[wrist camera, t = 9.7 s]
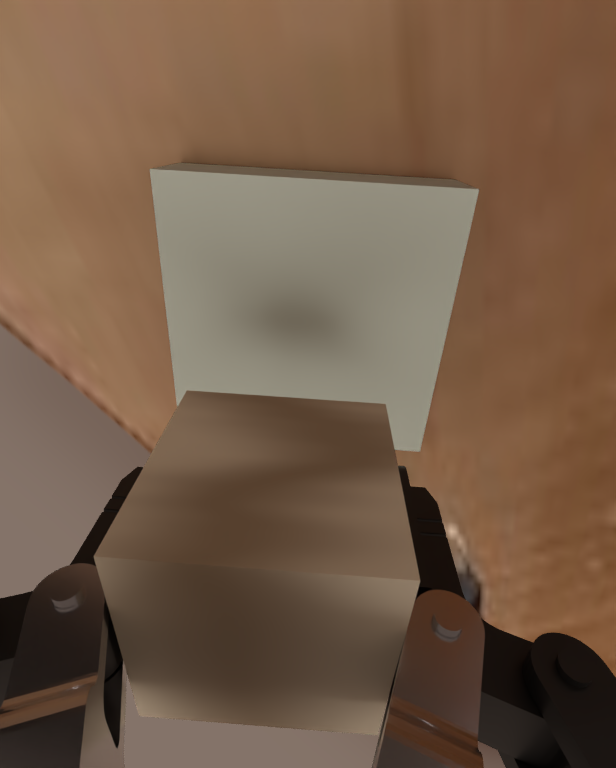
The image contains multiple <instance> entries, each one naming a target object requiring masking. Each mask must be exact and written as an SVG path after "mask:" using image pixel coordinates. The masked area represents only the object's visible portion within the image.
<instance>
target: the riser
mask: <svg viewBox="0 0 616 768" xmlns="http://www.w3.org/2000/svg"><path fill="white" fill-rule="evenodd" d="M150 176H151V185H152V193H153V202H154V211H155V219H156V228H157V237H158V245H159V254H160V263H161V271H162V280H163V289H164V297H165V306H166V315H167V323H168V332H169V341H170V349H171V358H172V367H173V375H174V384H175V393H176V401H177V407H178V405H179V403H180V402H181V400H182V398H183V396H184V394H185V393H186V391H187V390H189V391H204V392H219V393H233V394H248V395H263V396H277V397H292V398H307V399H321V400H336V401H351V402H365V403H380V404H386V408H387V413H388V418H389V423H390V428H391V434H392V439H393V444H394V449H395V450H404V451H418V452H420V449H421V444H422V440H423V436H424V431H425V427H426V422H427V418H428V413H429V409H430V405H431V400H432V396H433V391H434V387H435V383H436V378H437V374H438V369H439V365H440V360H441V356H442V352H443V347H444V343H445V338H446V334H447V330H448V325H449V321H450V316H451V312H452V307H453V303H454V299H455V294H456V290H457V285H458V281H459V276H460V272H461V268H462V263H463V259H464V254H465V250H466V246H467V241H468V237H469V232H470V228H471V223H472V219H473V215H474V210H475V206H476V201H477V197H478V193H479V189H477V188H475V187H472V186H470V185H467V184H465V183H462V182H460V181H457V180H454V179H437V178H421V177H405V176H389V175H372V174H356V173H340V172H324V171H307V170H291V169H275V168H259V167H242V166H226V165H210V164H193V163H176V164H171V165H167V166H162V167H157V168H152V169H150Z"/></svg>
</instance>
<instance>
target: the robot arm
mask: <svg viewBox="0 0 616 768" xmlns="http://www.w3.org/2000/svg"><path fill="white" fill-rule="evenodd" d="M142 469H143V467H137V468H136V469H134V470H133V471H132V472H131V473H130V474H128V475H127V476H126V477H125V478H123V479H122V480H121V482H120V483H119V485H118V487H117V489H116V490H115V492H114V493H113V495H112V499H110V500H109V502H108V504H107V505H106V507H105V508H104V512H102V513H101V515H100V516H99V518H98V520H97V522H96V523H95V525H94V527H93V528H92V530H91V532H90V533H89V535H88V536H87V538H86V540H85V541H84V543H83V545H82V546H81V548H80V550H79V552H78V553H77V555H76V556H75V558H74V560H73V561H72V563H71V564H70V565H69V566H65V567H62V568H60V569H58V570H56V571H54V572H53V573H51V574H50V575H48V576H47V577H46V578H44V579H43V580H42V581H41V582H40V583H39V584H38V585H37V586H36V588H35V589H34V590H33V591H31V592H27V593H24V594H19V595H15V596H10V597H5V598H0V768H125V765H124V735H125V707H126V681H127V671H126V668H125V665H124V661H123V658H122V654H121V651H120V647H119V644H118V640H117V637H116V633H115V630H114V626H113V623H112V619H111V616H110V612H109V609H108V605H107V602H106V598H105V595H104V591H103V588H102V584H101V581H100V577H99V574H98V570H97V567H96V563H95V560H94V555H95V553H96V551H97V549H98V548H99V546H100V544H101V542H102V540H103V539H104V537H105V535H106V533H107V532H108V530H109V528H110V526H111V524H112V523H113V521H114V519H115V517H116V516H117V514H118V512H119V510H120V508H121V507H122V505H123V503H124V501H125V499H126V498H127V496H128V494H129V492H130V491H131V489H132V487H133V485H134V483H135V482H136V480H137V478H138V476H139V475H140V473H141V471H142ZM398 469H399V474H400V479H401V485H402V490H403V495H404V500H405V505H406V510H407V515H408V520H409V525H410V530H411V536H412V541H413V546H414V551H415V556H416V561H417V566H418V571H419V576H420V584H419V588H418V591H417V595H416V599H415V602H414V606H413V609H412V613H411V617H410V620H409V624H408V627H407V631H406V635H405V638H404V642H403V646H402V649H401V653H400V656H399V660H398V664H397V667H396V671H395V674H394V678H393V682H392V685H391V689H390V693H389V697H388V701H387V705H386V709H385V714H384V718H383V722H382V726H381V730H380V735H379V739H378V743H377V747H376V752H375V756H374V760H373V764H372V768H484V767H483V757H482V754H481V752H479V750H478V741H480V742H482V743H484V744H486V745H488V746H490V747H492V748H495V749H497V750H498V752H499V754H500V756H501V758H502V760H503V762H504V765H505V767H506V768H616V677H615V676H614V675H613V673H612V672H611V671H610V669H609V668H608V667H607V665H606V664H605V663H604V661H603V660H602V659H601V658H600V657H599V656H598V655H597V654H596V653H595V652H594V651H593V650H592V649H591V648H589V647H588V646H587V645H585V644H584V643H582V642H581V641H579V640H577V639H575V638H573V637H571V636H568V635H565V634H561V633H546V634H543V635H541V636H539V637H538V638H537V639H536V640H535V641H534V643H533V642H530V641H527V640H525V639H522V638H520V637H517V636H514V635H512V634H509V633H507V632H504V631H502V630H499V629H497V628H495V627H493V626H492V625H490V624H488V623H487V622H485V621H484V620H483V619H481V618H480V616H479V614H478V612H477V611H476V610H475V609H474V607H473V606H472V605H471V604H470V603H469V602H468V601H466V599H465V597H464V595H463V592H462V589H461V586H460V582H459V578H458V575H457V571H456V568H455V564H454V561H453V557H452V554H451V550H450V547H449V543H448V539H447V538H446V532H445V529H444V525H443V523H442V518H441V515H440V511H439V507H438V504H437V502H436V501H435V500H434V498H433V497H432V496H431V494H430V493H429V492H428V491H427V489H426V488H423V487H410V483H409V479H408V474H407V470H406V467H405V466H398Z"/></svg>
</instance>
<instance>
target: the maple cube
mask: <svg viewBox="0 0 616 768" xmlns="http://www.w3.org/2000/svg"><path fill="white" fill-rule="evenodd" d="M94 560H95V563H96V567H97V570H98V574H99V577H100V581H101V584H102V588H103V591H104V595H105V598H106V602H107V605H108V609H109V612H110V616H111V619H112V623H113V626H114V630H115V633H116V637H117V640H118V644H119V647H120V651H121V654H122V658H123V661H124V665H125V668H126V671H127V675H128V678H129V682H130V685H131V689H132V692H133V696H134V699H135V703H136V706H137V710H138V713H139V716H144V717H157V718H169V719H182V720H194V721H206V722H218V723H231V724H243V725H255V726H268V727H280V728H293V729H305V730H318V731H330V732H342V733H343V732H344V733H356V734H367V735H378V732H379V729H380V725H381V721H382V717H383V714H384V711H385V707H386V703H387V700H388V696H389V693H390V689H391V685H392V682H393V678H394V674H395V671H396V667H397V664H398V660H399V656H400V653H401V649H402V646H403V642H404V638H405V635H406V631H407V627H408V624H409V620H410V617H411V613H412V609H413V606H414V602H415V599H416V595H417V591H418V588H419V584H420V576H419V571H418V566H417V561H416V556H415V551H414V546H413V541H412V536H411V530H410V525H409V520H408V515H407V510H406V505H405V500H404V495H403V490H402V485H401V479H400V474H399V469H398V464H397V459H396V454H395V449H394V444H393V439H392V434H391V428H390V423H389V418H388V413H387V408H386V404H380V403H365V402H351V401H336V400H321V399H307V398H292V397H277V396H263V395H248V394H233V393H219V392H204V391H189V390H187V391H186V393H185V394H184V396H183V398H182V400H181V402H180V403H179V405H178V407H177V409H176V411H175V412H174V414H173V416H172V418H171V419H170V421H169V423H168V425H167V427H166V428H165V430H164V432H163V434H162V435H161V437H160V439H159V441H158V443H157V444H156V446H155V448H154V450H153V451H152V453H151V455H150V457H149V459H148V460H147V462H146V464H145V466H144V467H143V469H142V471H141V473H140V475H139V476H138V478H137V480H136V482H135V483H134V485H133V487H132V489H131V491H130V492H129V494H128V496H127V498H126V499H125V501H124V503H123V505H122V507H121V508H120V510H119V512H118V514H117V516H116V517H115V519H114V521H113V523H112V524H111V526H110V528H109V530H108V532H107V533H106V535H105V537H104V539H103V540H102V542H101V544H100V546H99V548H98V549H97V551H96V553H95V555H94Z"/></svg>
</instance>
